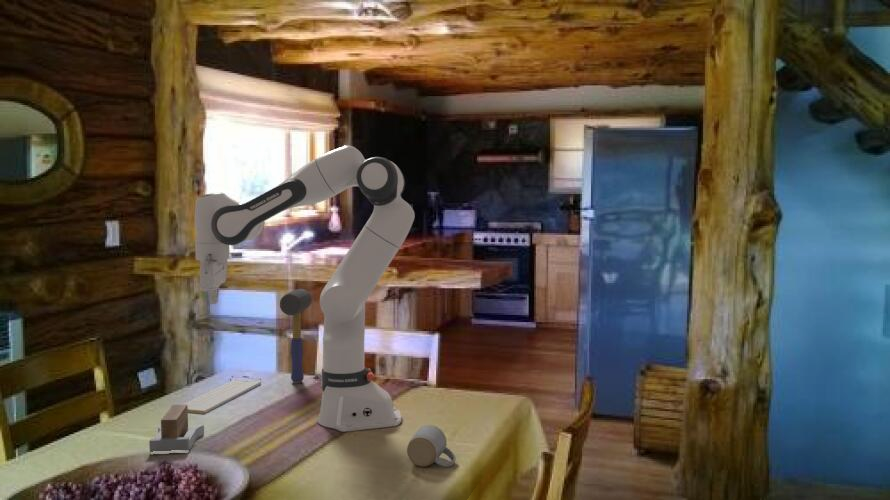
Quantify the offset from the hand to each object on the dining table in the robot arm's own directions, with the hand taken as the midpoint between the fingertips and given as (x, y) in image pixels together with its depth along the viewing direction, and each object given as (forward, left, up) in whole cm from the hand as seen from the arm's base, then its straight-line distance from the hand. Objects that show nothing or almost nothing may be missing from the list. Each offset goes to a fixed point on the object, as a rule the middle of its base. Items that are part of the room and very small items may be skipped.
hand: (214, 303), depth 198 cm
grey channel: (+6, +23, -31) cm, 39 cm away
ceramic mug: (-55, +42, -31) cm, 76 cm away
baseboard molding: (+3, -18, -32) cm, 37 cm away
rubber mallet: (-20, -30, -31) cm, 48 cm away
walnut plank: (+6, +22, -31) cm, 39 cm away
